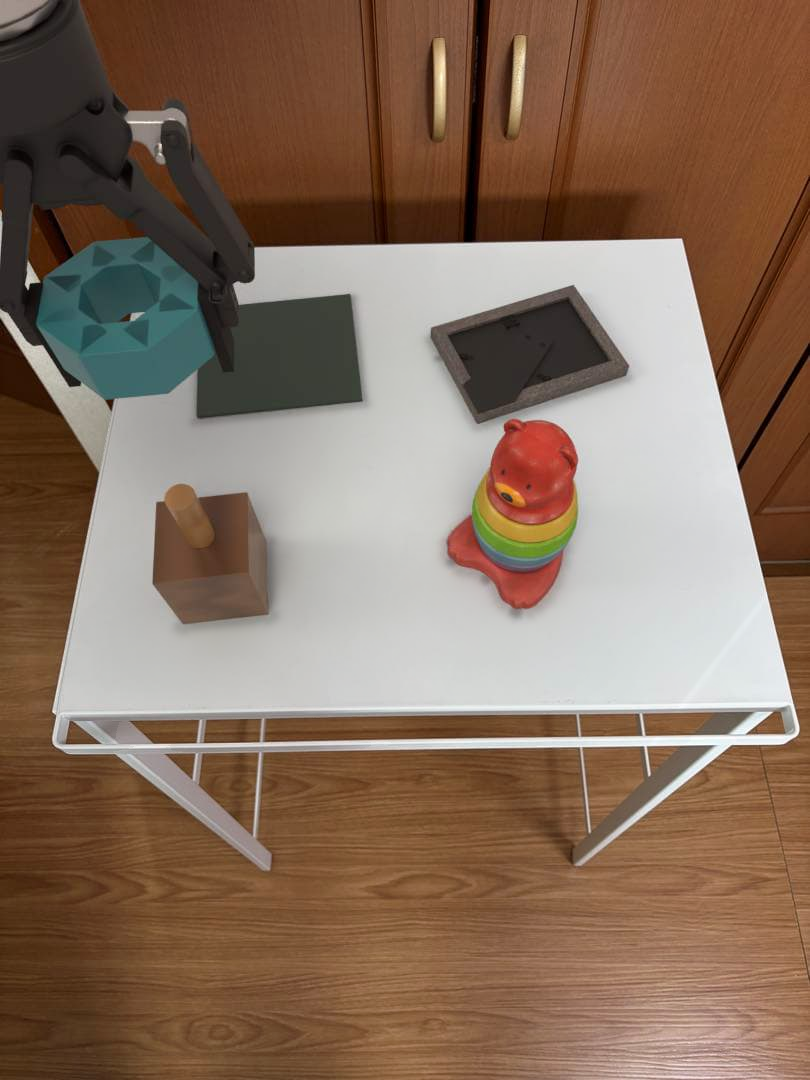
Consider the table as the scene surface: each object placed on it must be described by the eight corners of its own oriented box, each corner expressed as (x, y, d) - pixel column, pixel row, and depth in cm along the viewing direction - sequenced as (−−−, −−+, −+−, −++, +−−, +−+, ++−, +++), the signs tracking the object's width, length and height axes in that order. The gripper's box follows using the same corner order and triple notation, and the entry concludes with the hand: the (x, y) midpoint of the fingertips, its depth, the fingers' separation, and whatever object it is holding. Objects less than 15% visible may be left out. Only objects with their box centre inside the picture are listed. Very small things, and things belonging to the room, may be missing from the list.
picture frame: (477, 424, 80) (626, 375, 83) (478, 412, 78) (630, 363, 81) (430, 337, 86) (571, 294, 88) (430, 324, 84) (574, 281, 87)
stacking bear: (437, 549, 73) (442, 442, 57) (503, 484, 76) (525, 366, 60) (524, 619, 69) (555, 525, 53) (589, 547, 72) (636, 439, 57)
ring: (59, 404, 46) (28, 360, 43) (75, 293, 51) (49, 245, 47) (213, 389, 46) (196, 344, 43) (216, 280, 51) (200, 231, 48)
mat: (197, 418, 81) (196, 416, 80) (199, 311, 88) (198, 308, 88) (362, 401, 81) (362, 398, 81) (350, 296, 89) (350, 293, 89)
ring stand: (182, 624, 69) (124, 547, 56) (184, 549, 73) (130, 459, 60) (268, 614, 70) (231, 535, 56) (266, 540, 73) (230, 449, 60)
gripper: (248, -67, 33) (313, 308, 53) (-263, -27, 32) (-4, 338, 52) (249, 26, 30) (318, 391, 49) (-325, 73, 29) (-21, 424, 49)
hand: (153, 363), depth 51 cm, fingers closed on ring, 10 cm apart
